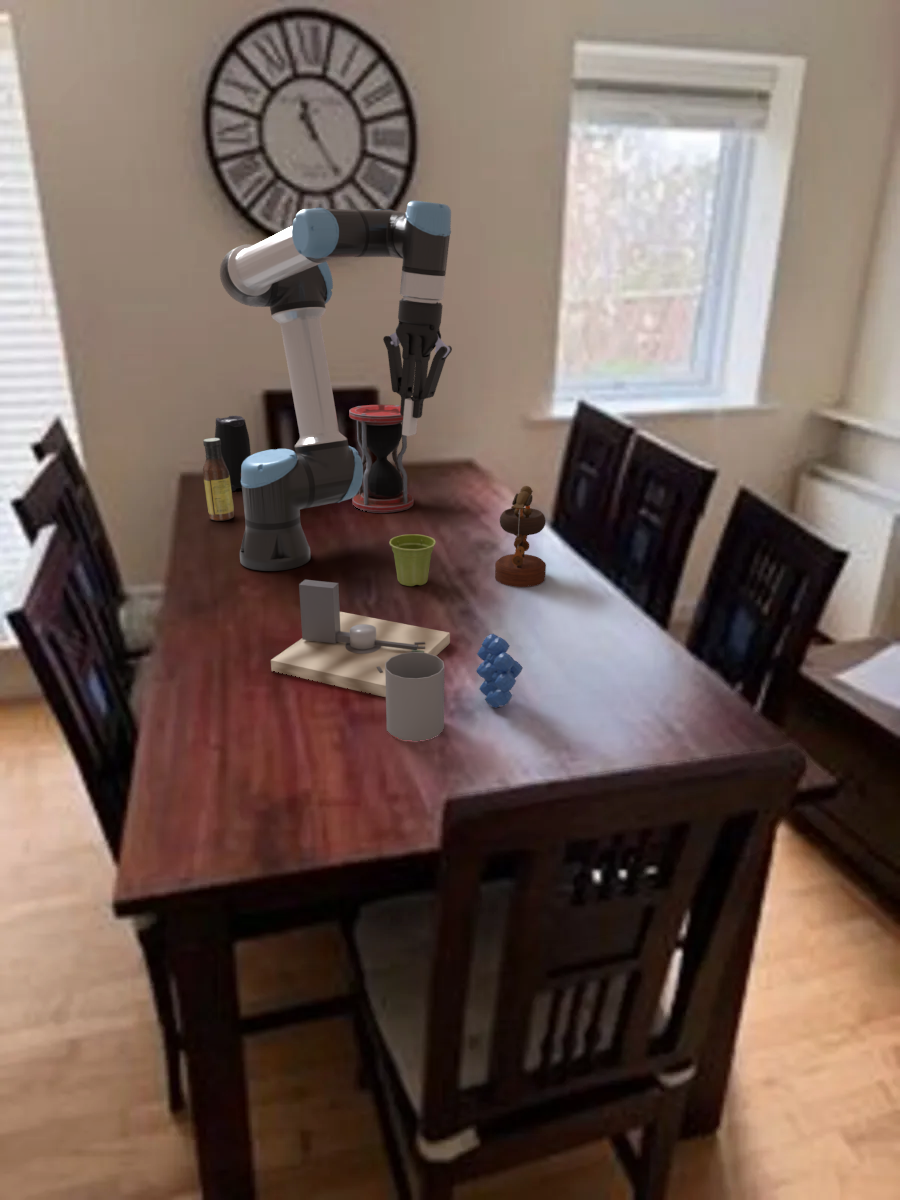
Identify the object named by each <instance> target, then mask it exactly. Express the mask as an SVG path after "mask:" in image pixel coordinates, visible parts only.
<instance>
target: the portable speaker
mask: <svg viewBox="0 0 900 1200" xmlns="http://www.w3.org/2000/svg"><path fill="white" fill-rule="evenodd" d="M245 419H246V418H244V417H243V416H241V415H229V416H227V417H216V418H215V431H214V438H218V439H220V442H221V445H220V447H221V454H222V457H223V460H224V462H225V464H226V467H227V469H228V471H229V476H230V483H231V491H232V492H235V491H236V490H237V489H242V484H241V466H242V463H243V461H244V460H245V459H246V458H247V457H249V456H251V455H252V454H251V443H250V442H251V441H250V436H249V432H248V428H247V424H246V420H245Z"/></svg>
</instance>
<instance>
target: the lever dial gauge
mask: <svg viewBox="0 0 900 1200" xmlns="http://www.w3.org/2000/svg"><path fill="white" fill-rule="evenodd" d="M339 586H340V585H339V582H331V581H321V580H315V579H314V580H311V579H304V580H303V581H301V582H300V583H299V584H298V589H299V591H298V592H299V593H298V594H299V607H300V621H301V636H302V638H301V639H302V640H310V641H318V642H326V643H335V644H336V643H337V642H344V643H350V645H351V647H353V648H355V649H370V648H373V647H374V646H376V645H377V646H386V647H394V648H402V649H410V650H417V649H418V645H414V644H406V643H397V642H389V641H381V640H376V628H375V627H374V626H372V625H367V624H360V625H355V626H353V627H351V628H350V632H342V631H341V630H340V612H341V611H340V591H339V590H340V589H339Z"/></svg>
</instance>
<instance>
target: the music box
mask: <svg viewBox="0 0 900 1200" xmlns="http://www.w3.org/2000/svg"><path fill="white" fill-rule="evenodd" d="M533 492H534V491H533V490H532V488H531V487H530V486H529V485H524V486H522V487H521V488H520V492H518V493H516V494H514V495H515V496H514V498H513V500H512V502H511V505H512V506H510V507H511V508H508V509H505V510H504V511H503V512H502V513H501V514H500V517H499V525H500V527H501V528H502V530H503V531H504V532H506V533H508V534H511V535H514V536H515V537H514V538H515V539H514V542H513V547H514V548H515V552H514V553H513V554H506V555H503V556H501V557H499V559H497V560H496V561H495V565H494V567H495V569H494V579H495V580H496V581H497V582H498V583H499V584H502V585H505V586H508V587H509V586H510V587H514V588H530V587H536V586H539V585H541V584H543V583H544V582H545V581H546V572H547V569H546V568H547V564H546V562H545V561H544V560H543V559H542V558H540V556H535V555H532V554H525V552H527V551H528V550H529V549H530V542H528V540H527V539H528V536H531V535H536V534H539V533H540V532H541V531H543V529H544V528H545V526H546V517H545V514H544V513H543V512H542V511H541V510H539V509H536V508H532V507H531V504H532V503H533V495H532V494H533Z"/></svg>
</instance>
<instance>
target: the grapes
mask: <svg viewBox="0 0 900 1200" xmlns="http://www.w3.org/2000/svg"><path fill="white" fill-rule="evenodd" d="M510 646H511V645H510V644H509V642H508V641H507V640H506V639H504V638H502V637H500V636H499V635H497V634H495V633H489V634H488V635H487V636H486V637H485V638H484V640H483V641H482V643H481V647H479V650H478V651H477V653H476V654H477V656H478V657H479V658H480V659H481V660H482V662H481V663H480V664H479V666H478V667H477V669H476V671H475V672H476V674H478V675H479V677H480V678H482V679H484V680H483V682H482V683H481V685H480V687H479V688H478V690H479V691H480V692H481V693H482V695H484V696H486V697H485V698H484V701H485V702H486V703H487V704H488V705H489V706H491V707H492V708H494V707H495V708H500V707H505V706H506V705H508V704H509V702H510V701H511V699H512V697H513V694H512V692H511V690H512V689H513V687H514V686H515V684H516V682H517V680H516V679H517V678H518V677H519V675H520V674H521V673H522V671H523V669H524V668H523V666H522V664H520V662H519V661H517V660H515V659H514V657H512V655H510V654H509V653H507V652H508V650H509V648H510ZM495 708H494V709H495Z"/></svg>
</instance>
